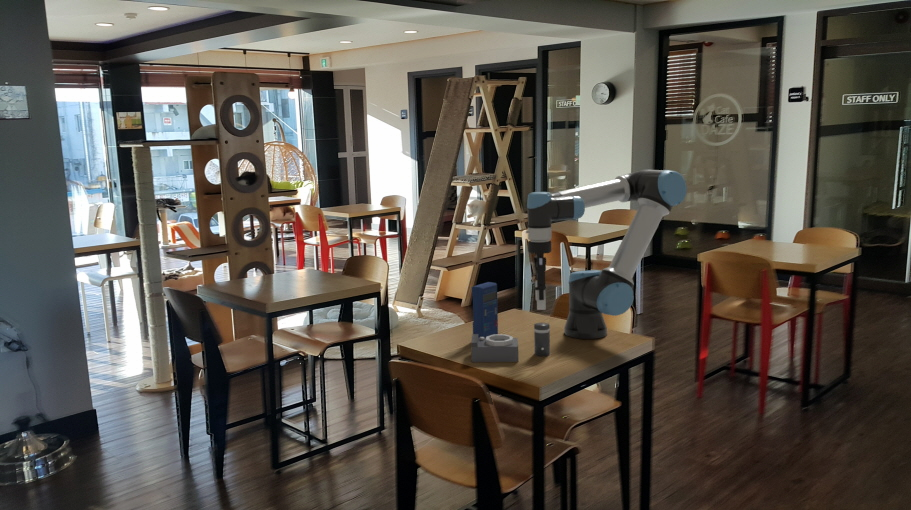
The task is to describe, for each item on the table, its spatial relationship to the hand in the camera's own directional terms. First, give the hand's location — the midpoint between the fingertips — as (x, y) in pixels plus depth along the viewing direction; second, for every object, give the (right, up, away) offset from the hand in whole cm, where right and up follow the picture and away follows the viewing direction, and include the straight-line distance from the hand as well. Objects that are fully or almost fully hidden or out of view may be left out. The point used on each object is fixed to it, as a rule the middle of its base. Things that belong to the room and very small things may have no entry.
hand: (540, 304), depth 231 cm
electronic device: (-17, -14, +21) cm, 31 cm away
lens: (+1, -17, +2) cm, 17 cm away
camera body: (-15, -17, +1) cm, 23 cm away
